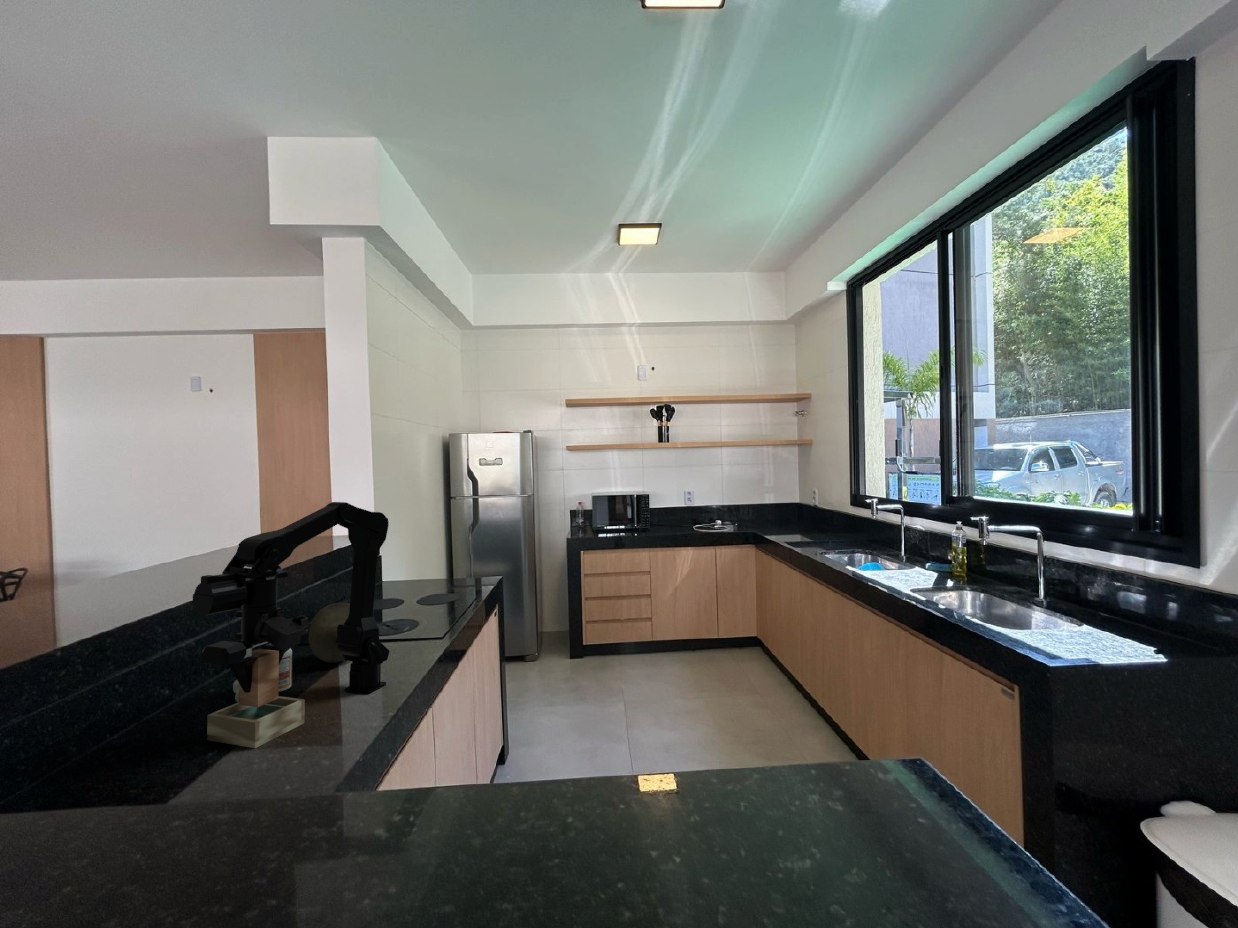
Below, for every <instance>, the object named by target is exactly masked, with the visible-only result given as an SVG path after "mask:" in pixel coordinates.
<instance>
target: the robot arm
mask: <svg viewBox="0 0 1238 928" xmlns="http://www.w3.org/2000/svg"><path fill="white" fill-rule="evenodd" d="M337 525H339V526H340V527H343V528H345V529H346V530H347V536H348V537H347V539H348V540H349V542H350V544H351V545H350V546H351V547H352V549H353V562H352V563H353V564H352V572H351V573H352V576H351V587H350V600H349V603H350V610H349V617H348V618H347V620H346V621H345V623H344V624H339V625H338V627H337V639H336V642H335V643H338V650H339V651H340V652H341V653H342V655H343V658H344V661H346V662H347V661H348V662H351V663H350V664H349V665H350V667H349V668H350V671H348V672H349V677H348V678H349V680H348V681H349V683H348V686H347V687H344V689H343V691H344V692H350V693H357V694H365V695H366V694H367V695H368V694H371V693H373V692H375V691H376V690H378V689H380V688H382V687H384V686H386V685H387V681H382V678H381V677H382V676H381V674H382V670H381V669H382V664H383V663H384V662H387V661H388V659H389V655H390V649H389V648H387V647H386V646H385V645H384V644H383V643H382V642H381V641H380V640H381V639H380V630H379V629H380V628H379V626H378V623H377V621H376V619H375V617H374V605H375V592H376V582H377V581H376V579H377V568H378V555H379V551H380V549H381V547H382V546H383V545H384V543H385V541H386V539H387V536H388V531H389V518H388V517H387V516H386V515H385V514H384V513H383V512H379V511H370V510H367V509H363V508H360V507H357V506H355V505H353V504H351V503H349V502H344V501H332V502H329V503H327V505H325V506H324V507H322V508H320V509H318V510H316V511H313V512H312V513H310V514H308V515H306V516H304V517H302V518H300V519H298V520H296V521H294V522H292V523H290V524H288V525H286V526H284V527H283V528H279V529H276V530H271V531H267V532H261V533H258V534H256V535H251V536H249V537H246V538H244V539H242V540H241V541H239V543H238V547H237V548H236V552H235V554H234V555H233V557H232V558H231V560H230V561H229V562H228V563H227V564H226V567H225V568H224V570H223V571H222V572H221V573H222V574H215V575H212V574H211V575H210V574H207V575H206V574H205V575H202V576H201V577H200V583H199V584H198V585H197V586H196V587H195V589H194V593H193V594H192V604H193V607H194V611H195V612H196V613H197V614H198V615H199V616H200V617H205V616H210V615H215V614H221V613H225V612H229V611H235V610H236V612H235V613H236V614H235V618H241V626H240V628H241V630H240V631H241V632H237V633H236V634H235V640H240V641H239V642H238V641H237V642H236V641H229V640H228V641H227V640H221V641H219V642H215V643H210V644H208V645H206V646H205V647H204V648H203V649H202V650H201V654H200V655H201V658H200V659H201V661H200V663H204V664H208V665H209V664H211V665H217V666H218V665H219V666H228V667H229V669H230V671H231V672H232V673H233V675H234V677H235V678H236V680H238V682H239V684H240V686H241V687H242V689H243V691H244V692H245V693H249V692H250V691H251V684H252V665H253V663H254V662H255V661H256V659H257V658H258V657H255V656H252V651H253V650H255V649H258V648H259V649H267V650H276V651H279V664H280V662H281V659H282V657H283V655H284V654H285V652H286V651H288V650H289V649H290V648H291V649H292V648H293V647H295V646H298V645H299V644H300V643H301V642H300V641H302V640H304V639H309V628H310V623H309V622H310V621H309V617H308V616H306V615H304V614H302V615H297V616H295V617H294V618H292V617H291V618H286V617H285V616H284V615H285V614H284V610H283V608H282V607H278V579H283V578H284V579H285V578H288V577H289V576H290V574H289V573H288V572H287V571H286V570H285V569H283V568H282V567H281V566H280V565H281V564H282V563H284V561H286V560H288V558H289V557H291V555H292V554H293V552H294V550H295V549H297V548H298V547H299V546H300V545H303V544H304V543H307V542H308V541H310V540H312V539H313V538H316V537H317V536H319V535H322V534H323V533H325V532H326V531H328V530H330V529H332V528H334V527H336V526H337ZM240 608H241V610H239V609H240ZM237 610H238V611H237Z"/></svg>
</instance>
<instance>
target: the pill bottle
mask: <svg viewBox="0 0 1238 928" xmlns="http://www.w3.org/2000/svg"><path fill="white" fill-rule="evenodd" d="M292 684H293V650H292V647H291V648H290V649H289V650H288V651H286V652H285V654H284V655H283V657H282V659H281V662H280V664H279V681H278V693H280V692H283V691H286V690H288V689H290V688H291V687H292Z"/></svg>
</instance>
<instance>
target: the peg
mask: <svg viewBox="0 0 1238 928" xmlns="http://www.w3.org/2000/svg"><path fill="white" fill-rule="evenodd" d="M252 656H255V657H258V658H257V659H256V661H255V662H254V663H253V665H252V684H251V691H250V692H249V693H245V692H244V691H243V689H242V687H241V686H240V684H239V705H246V706H252V707H260V706H262V705H264V704H266V703H269V702H271V701H273V700H276V699H278V696H279V692H278V681H279V651H276V650H267V649H261V648H257V649H254V650H252Z"/></svg>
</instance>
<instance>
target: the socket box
mask: <svg viewBox="0 0 1238 928" xmlns="http://www.w3.org/2000/svg"><path fill="white" fill-rule="evenodd" d="M305 701H306V699H303V698H295V697H289V696H279V695H278V699H276V700H273V701H271V702H269V703H266V704H264V705H262V706H260V707H252V706H246V705H239V702H236V703H233V704H231V705H229V706H226V707H224V708H221V709H219V710H216V711H214V712H212V713H209V714H207V724H206V725H207V730H206V734H207V735H206V740H207V741H211V742H216V743H222V744H228V745H234V746H240V747H246V748H252V749H256V748H258V747H260V746H262V745H264V744H267V743H269V742H270V741H272V740H274V739H277V738H278V737H279V736H282V735H284V734H286V733H287V732H290V731H292V730H294V729H295V728H298V727H300V726H301V725H304V724H305V705H306V704H305V703H306V702H305Z"/></svg>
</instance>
